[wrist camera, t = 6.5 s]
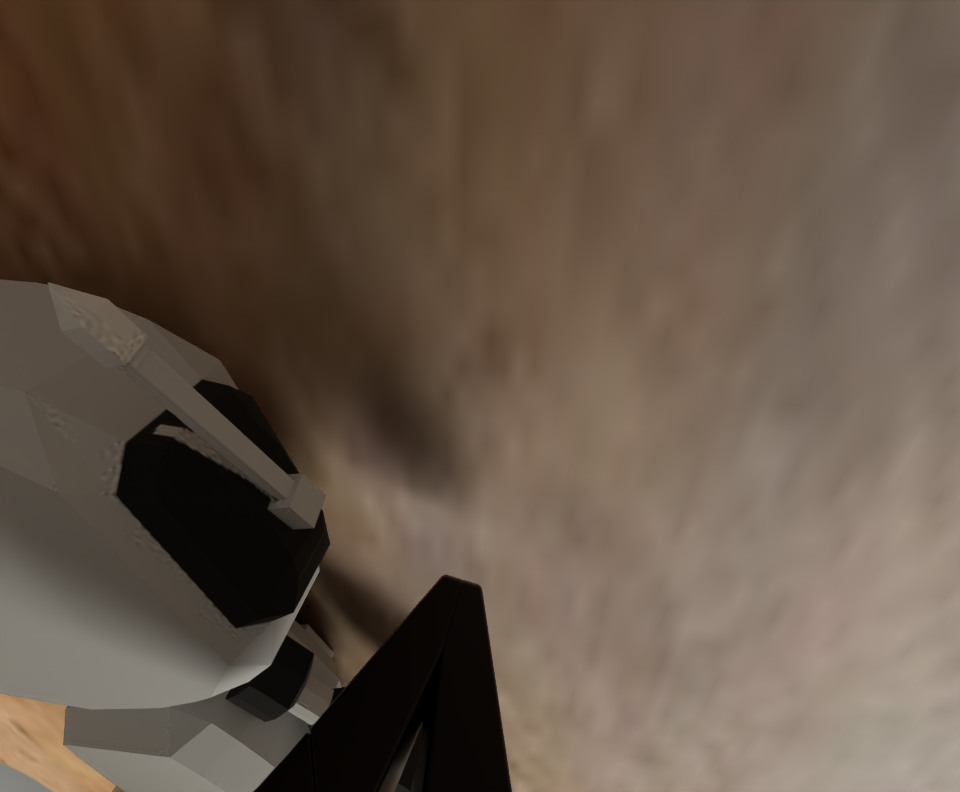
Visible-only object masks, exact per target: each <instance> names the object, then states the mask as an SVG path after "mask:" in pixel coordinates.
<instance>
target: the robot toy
mask: <svg viewBox="0 0 960 792" xmlns="http://www.w3.org/2000/svg"><path fill="white" fill-rule="evenodd" d="M325 496H326V495H325V494H324V493H323V492H322V491H321V490H320V489H319V488H318V487H317V486H316V485H315V484H314V483H313V482H312V481H311V480H310V479H309V478H308V477H307V476H306V475H305V474H304V473H299V472H298V470H297V468H296V467H295V465H294V464H293V462H292V460H291V459H290V457H289V455H288V454H287V452H286V451H285V449H284V447H283V446H282V444H281V442H280V441H279V439H278V438H277V436H276V434H275V433H274V431H273V429H272V428H271V426H270V425H269V423H268V421H267V420H266V418H265V416H264V415H263V413H262V412H261V410H260V408H259V407H258V405H257V403H256V402H255V400H254V399H253V397H252V396H250V395H248V394H246V393H244V392H242V391H240V390H238V388H237V386H236V385H235V383H234V382H233V380H232V378H231V377H230V375H229V374H228V372H227V370H226V369H225V367H224V366H223V364H222V363H221V361H220V360H219V359H217V358H216V357H214V356H212V355H210V354H208V353H207V352H205V351H203V350H201V349H200V348H198V347H196V346H194V345H192V344H191V343H189V342H187V341H185V340H184V339H182V338H180V337H178V336H176V335H175V334H173V333H171V332H169V331H168V330H166V329H164V328H162V327H161V326H159V325H157V324H155V323H153V322H152V321H150V320H148V319H146V318H143V317H141V316H138V315H136V314H133V313H131V312H128V311H126V310H123V309H121V308H118V307H116V306H115V305H114V304H113V303H112V302H111V301H109V300H108V299H106V298H102V297H98V296H95V295H91V294H88V293H84V292H81V291H77V290H74V289H70V288H67V287H63V286H60V285H56V284H53V283H49V282H48V285H47V284H42V283H36V282H24V281H12V280H0V693H1V694H6V695H10V696H16V697H21V698H27V699H33V700H39V701H45V702H50V703H56V704H62V705H68V706H67V708H66V711H65V726H64V742H63V745H65V746H66V747H67V748H68V749H69V750H71V751H72V752H73V753H74V754H75V755H77V756H78V757H79V758H80V759H81V760H83V761H84V762H85V763H87V764H88V765H89V766H91V767H92V768H93V769H94V770H96V771H97V772H98V773H100V774H101V775H102V776H104V777H105V778H107V779H108V780H109V781H111V782H112V783H114V784H115V785H116V786H118V787H119V788H121V789H122V790H124V791H125V792H253V791H254V790H255V789H256V788H257V787H258V786H259V785H260V784H261V783H262V782H263V780H264V779H265V778H266V777H267V776H268V775H269V774H270V773H271V772H272V771H273V770H274V768H275V767H276V766H277V765H278V764H279V763H280V762H281V761H282V760H283V759H284V757H285V756H286V755H287V754H288V753H289V752H290V751H291V750H292V748H293V747H294V746H295V745H296V744H297V743H298V741H299V740H300V739H301V738H302V737H303V736H304V735H305V734H306V733H309V734H310V728H311V727H312V726H313V725H314V723H315V722H316V721H317V720H318V719H319V718H320V716H321V715H322V714H323V713H324V712H325V711H326V710H327V708H328V707H329V706H330V705H331V704H332V703H333V701H334V700H335V699H336V698H337V697H338V696H339V694H340V693H341V692H342V691H343V690H344V689H345V688H346V687H342V688H341V684H340V680H339V676H338V673H337V669H336V666H335V662H334V660H333V656H334V652H333V651H332V650H331V649H330V647H329V646H328V645H327V644H326V643H325V642H324V641H323V640H322V639H321V638H320V637H319V636H318V635H317V634H316V633H315V632H314V631H313V630H312V629H313V628H312V627H311V626H310V625H309V624H301V625H299V624H298V623H297V622H296V621H295V620H294V619H295V618H296V616H297V614H298V612H299V610H300V608H301V606H302V604H303V602H304V600H305V598H306V596H307V595H308V593H309V591H310V589H311V587H312V585H313V583H314V581H315V579H316V577H317V575H318V573H319V571H320V568H319V564H320V562H321V560H322V558H323V556H324V555H325V553H326V551H327V549H328V547H329V545H330V541H329V537H328V532H327V528H326V523H325V519H324V514H323V511H322V509H321V507H322V504H323V502H324V499H325ZM422 724H423V722H422ZM421 729H422V725H421V727H420V730H419V732H418V735H417V737H416V740H415V742H414V745H413V747H412V750H411V752H410V755H409V757H408V760H407V762H406V764H405V767H404V769H403V772H402V774H401V777H400V779H399V782H398V784H397V787H396V789H395V792H411V788H412V782H413V776H414V770H415V765H416V759H417V753H418V747H419V741H420V735H421Z"/></svg>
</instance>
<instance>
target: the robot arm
mask: <svg viewBox="0 0 960 792" xmlns="http://www.w3.org/2000/svg"><path fill="white" fill-rule="evenodd" d="M422 722H423V724H422ZM421 725H422V729H421V735H420V741H419V747H418V753H417V759H416V765H415V770H414V776H413V782H412V788H411V792H512V788H511V782H510V775H509V768H508V761H507V755H506V748H505V741H504V734H503V728H502V721H501V714H500V707H499V700H498V694H497V687H496V680H495V673H494V667H493V660H492V653H491V646H490V640H489V633H488V626H487V619H486V613H485V606H484V599H483V592H482V588H481V586H480V585H478V584H475V583H472V582H469V581H465V580H461V579H459V578H456V577H452V576H449V575H443V576H442V577H441V578H440V579H439V580H438V581H437V582H436V584H435V585H434V586H433V587H432V588H431V589H430V590H429V592H428V593H427V594H426V595H425V596H424V597H423V599H422V600H421V601H420V602H419V603H418V604H417V605H416V607H415V608H414V609H413V610H412V611H411V612H410V614H409V615H408V616H407V617H406V618H405V619H404V621H403V622H402V623H401V624H400V625H399V626H398V627H397V629H396V630H395V631H394V632H393V633H392V634H391V636H390V637H389V638H388V639H387V640H386V641H385V642H384V644H383V645H382V646H381V647H380V648H379V649H378V651H377V652H376V653H375V654H374V655H373V656H372V657H371V659H370V660H369V661H368V662H367V663H366V664H365V666H364V667H363V668H362V669H361V670H360V671H359V673H358V674H357V675H356V676H355V677H354V678H353V679H352V681H351V682H350V683H349V684H348V685H347V686H346V688H345V689H344V690H343V691H342V692H341V693H340V694H339V696H338V697H337V698H336V699H335V700H334V701H333V703H332V704H331V705H330V706H329V707H328V708H327V710H326V711H325V712H324V713H323V714H322V715H321V716H320V718H319V719H318V720H317V721H316V722H315V723H314V725H313V726H312V727H311V728H310V734H309V733H306V734H305V735H304V736H303V737H302V738H301V739H300V740H299V741H298V743H297V744H296V745H295V746H294V747H293V748H292V750H291V751H290V752H289V753H288V754H287V755H286V756H285V757H284V759H283V760H282V761H281V762H280V763H279V764H278V765H277V766H276V767H275V768H274V770H273V771H272V772H271V773H270V774H269V775H268V776H267V777H266V778H265V779H264V780H263V782H262V783H261V784H260V785H259V786H258V787H257V788H256V789H255V790H254V791H253V792H395V789H396V787H397V784H398V782H399V779H400V777H401V774H402V772H403V769H404V767H405V764H406V762H407V760H408V757H409V755H410V752H411V750H412V747H413V745H414V742H415V740H416V737H417V735H418V732H419V730H420V727H421Z"/></svg>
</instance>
